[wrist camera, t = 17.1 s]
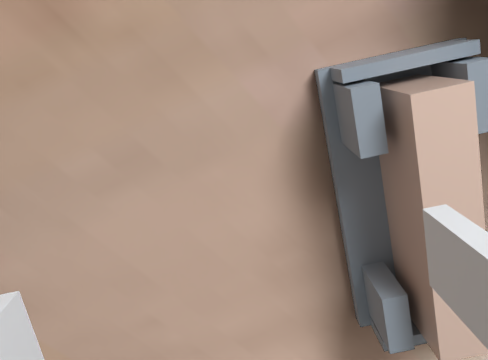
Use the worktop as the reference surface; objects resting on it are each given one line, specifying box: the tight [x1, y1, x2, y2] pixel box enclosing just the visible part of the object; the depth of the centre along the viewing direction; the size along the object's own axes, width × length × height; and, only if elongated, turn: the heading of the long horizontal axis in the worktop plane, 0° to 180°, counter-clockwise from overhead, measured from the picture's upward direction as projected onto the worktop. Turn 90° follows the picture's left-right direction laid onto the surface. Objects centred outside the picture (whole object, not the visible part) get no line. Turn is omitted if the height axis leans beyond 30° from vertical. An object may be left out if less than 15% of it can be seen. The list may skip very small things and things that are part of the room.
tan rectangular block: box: [379, 74, 488, 360], centre depth 36 cm, size 4×20×9 cm, turn 12°
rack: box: [314, 38, 488, 354], centre depth 38 cm, size 12×24×8 cm, turn 12°
